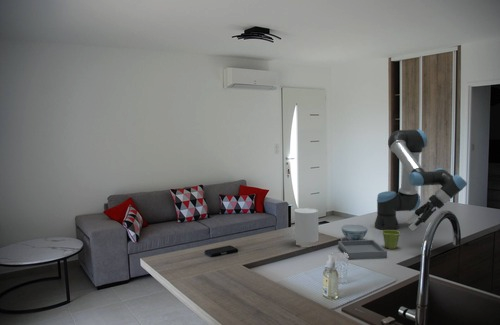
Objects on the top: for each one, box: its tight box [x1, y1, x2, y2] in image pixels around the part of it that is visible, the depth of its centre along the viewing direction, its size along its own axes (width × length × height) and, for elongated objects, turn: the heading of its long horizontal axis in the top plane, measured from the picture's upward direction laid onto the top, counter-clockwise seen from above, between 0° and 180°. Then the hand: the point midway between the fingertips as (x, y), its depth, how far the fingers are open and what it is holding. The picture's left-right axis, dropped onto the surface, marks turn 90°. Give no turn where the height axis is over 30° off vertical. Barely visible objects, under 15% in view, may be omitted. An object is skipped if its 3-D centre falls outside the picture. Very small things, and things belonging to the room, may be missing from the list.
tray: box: [337, 239, 388, 260], centre depth 208 cm, size 20×20×4 cm
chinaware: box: [341, 224, 369, 241], centre depth 229 cm, size 15×15×8 cm
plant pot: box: [381, 230, 401, 250], centre depth 214 cm, size 9×9×9 cm
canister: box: [294, 207, 319, 243], centre depth 225 cm, size 14×14×20 cm
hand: (408, 225), depth 210 cm, fingers open, 13 cm apart
